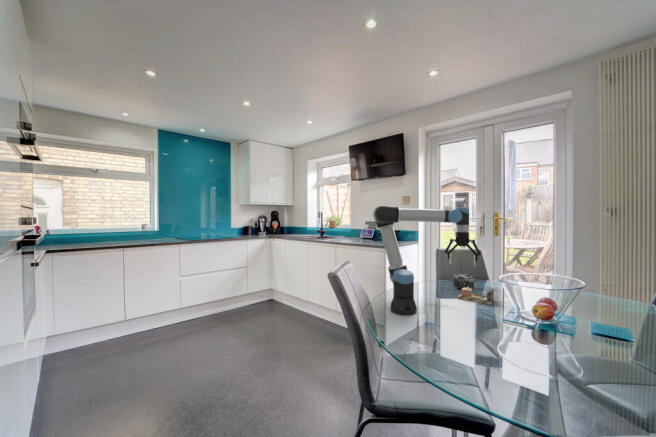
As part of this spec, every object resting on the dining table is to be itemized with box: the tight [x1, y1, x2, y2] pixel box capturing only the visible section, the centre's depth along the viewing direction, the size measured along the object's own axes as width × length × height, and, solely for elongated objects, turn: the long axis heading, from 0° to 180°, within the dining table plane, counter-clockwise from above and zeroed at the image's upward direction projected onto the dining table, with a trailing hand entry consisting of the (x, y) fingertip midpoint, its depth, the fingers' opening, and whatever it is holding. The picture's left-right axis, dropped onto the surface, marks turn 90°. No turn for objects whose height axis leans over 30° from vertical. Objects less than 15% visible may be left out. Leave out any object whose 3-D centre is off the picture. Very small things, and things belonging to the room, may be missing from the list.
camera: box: [452, 272, 475, 291], centre depth 192 cm, size 16×10×10 cm, turn 24°
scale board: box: [457, 287, 495, 305], centre depth 166 cm, size 18×11×7 cm, turn 50°
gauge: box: [460, 287, 473, 297], centre depth 169 cm, size 5×7×5 cm
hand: (462, 265), depth 166 cm, fingers open, 13 cm apart
